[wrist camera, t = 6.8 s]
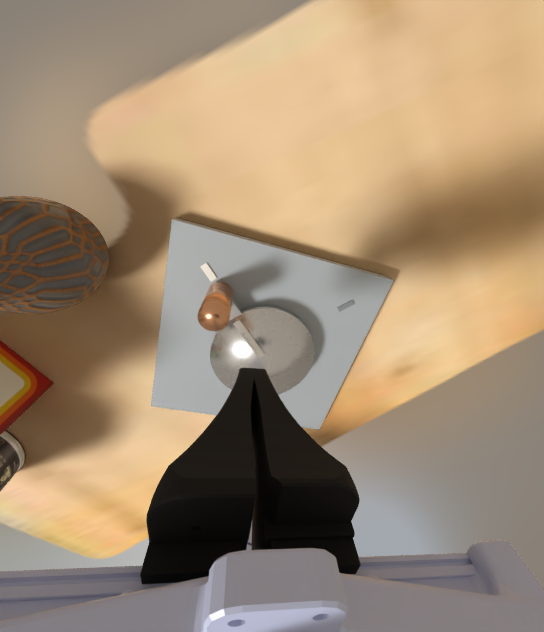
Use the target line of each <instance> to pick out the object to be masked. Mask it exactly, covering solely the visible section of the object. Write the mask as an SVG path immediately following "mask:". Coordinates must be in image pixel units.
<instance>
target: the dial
mask: <svg viewBox="0 0 544 632" xmlns="http://www.w3.org/2000/svg"><path fill="white" fill-rule="evenodd" d="M197 318H198V322H199V324H200V325H201V326H202V327H203V328H204V329H206V330H209V331H216V332H215V334H214V337H213V341H212V345H211V350H210V361H211V366H212V368H213V371H214V373H215V374H216V376H217V377H218V379H219V380H220V381H221V382H222V383H223V384H224V385H225V386H227V387H228V388H229V389H231V390H232V389H233V387H234V384H235V382H236V380H237V377H238V373H239V369H240V368H258V369H265V370H266V371H267V374H268V376H269V378H270V380H271V382H272V384H273V386H274V388H275V390H276V392H277V394H281V393H284V392H286V391H288V390H290V389H292V388H294V387H295V386H296V385H298V384H299V383H300V382H301V381H302V380H303V379H304V378H305V377H306V375H307V374H308V372H309V371H310V369H311V367H312V364H313V361H314V343H313V340H312V337H311V335H310V333H309V331H308V329H307V327H306V325H305V324H304V322H303V321H302V320H301V319H300V318H299V317H298V316H296V315H295V314H294V313H292V312H290V311H289V310H286V309H284V308H281V307H278V306H273V305H253V306H249V307H245V308H242V309H241V308H240V307H239V305H238V304H237V303H236V301H235V300H234V298H233V290H232V288H231V287H230V285H228V284H227V283H225V282H220V281H219V282H215V283H213V284H211V285H210V287H209V288H208V291H207V293H206V295H205V298H204V300H203V302H202V305H201V307H200V309H199V312H198V316H197Z"/></svg>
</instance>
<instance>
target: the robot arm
mask: <svg viewBox="0 0 544 632" xmlns="http://www.w3.org/2000/svg"><path fill="white" fill-rule="evenodd" d="M358 504H359V495H358V492H357V489H356V487H355V484H354V482H353V480H352V478H351V476H350V474H349V472H348V470H347V468H346V466H344V465H343V464H342V463H340V462H339V461H338V460H336V459H335V458H334V457H333V456H331V455H330V454H329V453H328V452H326V451H325V450H324V449H323V448H322V447H321V446H319V445H318V444H317V443H316V442H315V441H314V440H313V439H312V438H311V437H310V436H309V435H308V434H307V433H306V432H305V431H304V429H303V428H302V427H301V426H300V425H299V424H298V423H297V421H296V420H295V419H294V418H293V416H292V415H291V414H290V412H289V411H288V409H287V408H286V406H285V405H284V403H283V402H282V400H281V399H280V397H279V395H278V394H277V392H276V390H275V388H274V386H273V384H272V382H271V380H270V378H269V376H268V374H267V371H266V370H265V369H258V368H240V369H239V373H238V377H237V380H236V382H235V384H234V387H233V389H232V391H231V393H230V395H229V396H228V398H227V400H226V402H225V403H224V405H223V407H222V408H221V410H220V411H219V413H218V414H217V415H216V417H215V418H214V420H213V421H212V422H211V423H210V425H209V426H208V427H207V428H206V430H205V431H204V432H203V433H202V434H201V435H200V437H199V438H198V439H197V440H196V441H195V442H194V443H193V444H192V445H191V446H190V447H189V448H188V449H187V450H186V451H185V452H184V453H183V454H182V455H180V456H179V457H178V458H177V459H176V460H175V461H174V462H173V463H171V464H170V465H169V466H168V468H167V470H166V471H165V473H164V475H163V477H162V478H161V480H160V482H159V484H158V486H157V488H156V491H155V493H154V495H153V498H152V501H151V504H150V507H149V510H148V513H147V528H148V535H149V546H148V549H147V553H146V556H145V559H144V563H143V566H125V567H101V568H76V569H75V568H74V569H50V570H24V571H0V632H544V588H543V587H542V586H541V584H540V583H539V581H538V580H537V579H536V578H535V576H534V575H533V573H532V572H531V571H530V569H529V568H528V567H527V565H526V564H525V563H524V561H523V560H522V559H521V557H520V556H519V555H518V553H517V552H516V551H515V549H514V548H513V547H512V545H511V544H510V543H509V541H507V540H487V541H486V540H484V541H478V542H476V543H474V544H472V545H471V546H470V547H469V549H468V551H467V553H451V554H426V555H400V556H374V557H358V554H357V550H356V547H355V544H354V540H353V537H354V529H353V526H352V523H351V520H352V518H353V516H354V513H355V511H356V509H357V507H358Z"/></svg>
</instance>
